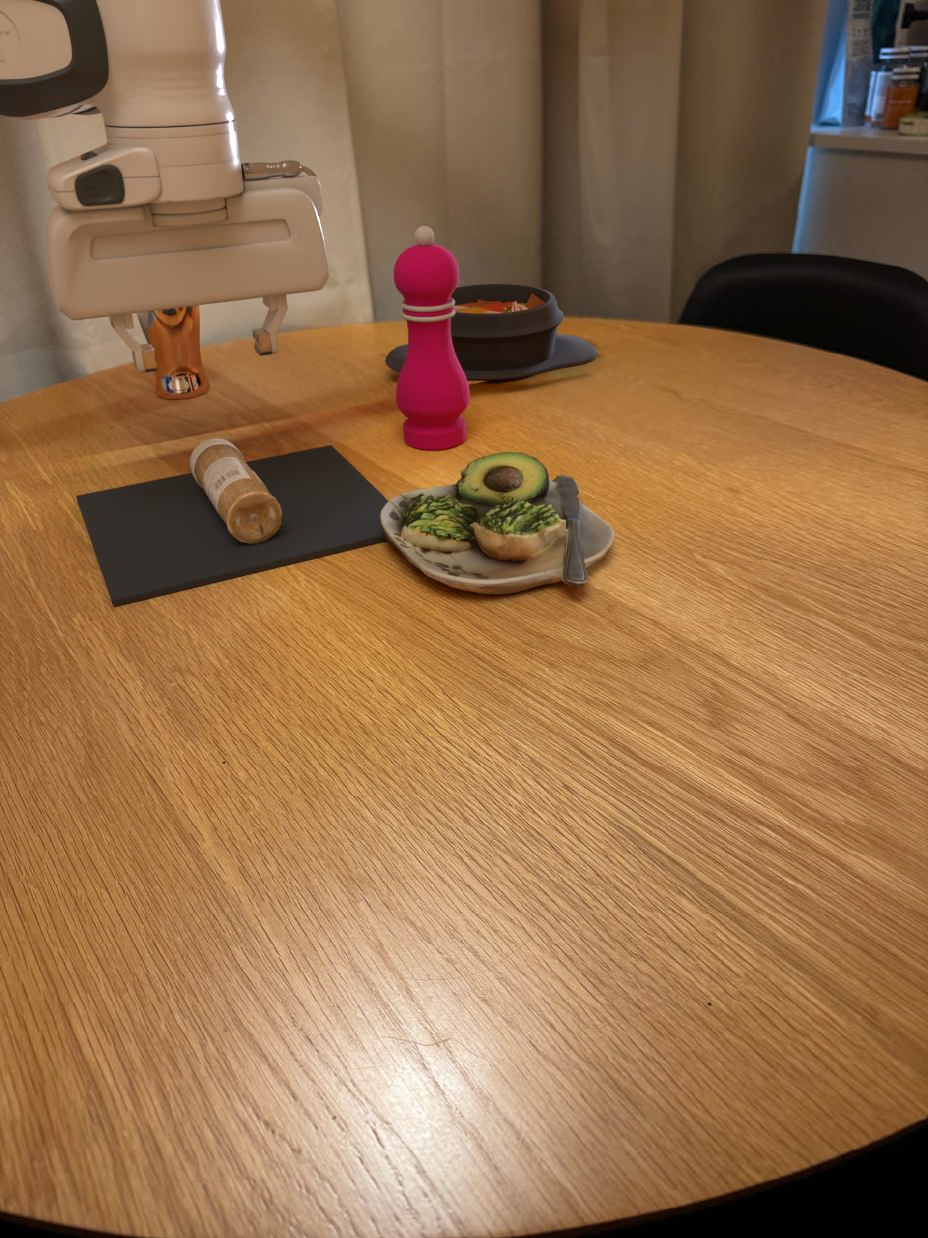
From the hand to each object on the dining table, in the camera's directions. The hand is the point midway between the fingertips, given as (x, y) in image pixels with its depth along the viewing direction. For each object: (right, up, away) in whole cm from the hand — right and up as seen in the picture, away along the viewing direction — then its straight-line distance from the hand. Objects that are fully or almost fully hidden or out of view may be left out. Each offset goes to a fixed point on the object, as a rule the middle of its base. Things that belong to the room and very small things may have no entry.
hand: (208, 361), depth 76 cm
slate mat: (+1, -11, +7) cm, 13 cm away
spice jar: (+4, -12, 0) cm, 13 cm away
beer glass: (-13, +6, +37) cm, 39 cm away
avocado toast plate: (+23, -14, +1) cm, 27 cm away
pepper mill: (+17, -2, +21) cm, 27 cm away
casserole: (+23, +9, +40) cm, 47 cm away
